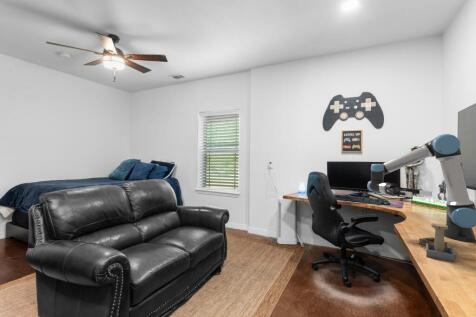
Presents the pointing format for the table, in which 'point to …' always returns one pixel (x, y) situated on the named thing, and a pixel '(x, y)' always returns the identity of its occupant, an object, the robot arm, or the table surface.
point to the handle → (439, 236)
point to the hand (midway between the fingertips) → (421, 194)
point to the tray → (440, 253)
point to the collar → (429, 241)
